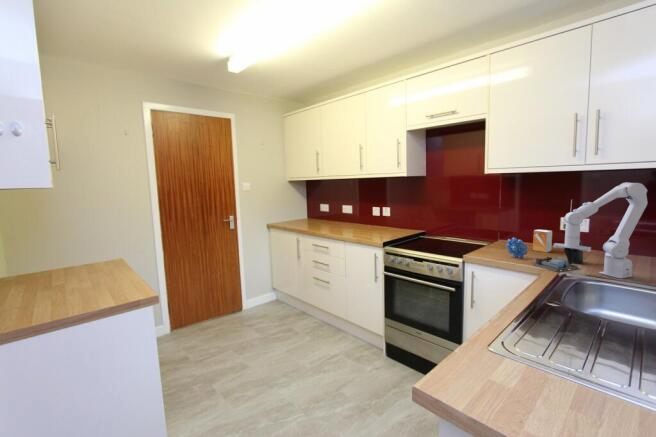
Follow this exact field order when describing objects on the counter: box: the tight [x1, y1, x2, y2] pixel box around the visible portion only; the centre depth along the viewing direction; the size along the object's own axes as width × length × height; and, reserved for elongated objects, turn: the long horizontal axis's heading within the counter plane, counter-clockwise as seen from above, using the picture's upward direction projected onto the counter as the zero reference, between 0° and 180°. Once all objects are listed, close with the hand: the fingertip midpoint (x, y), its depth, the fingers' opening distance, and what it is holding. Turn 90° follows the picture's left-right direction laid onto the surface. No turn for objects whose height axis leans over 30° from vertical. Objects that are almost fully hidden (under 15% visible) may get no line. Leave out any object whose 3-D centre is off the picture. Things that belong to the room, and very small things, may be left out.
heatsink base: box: [532, 256, 579, 272], centre depth 167 cm, size 14×14×4 cm
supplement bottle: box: [573, 240, 585, 265], centre depth 173 cm, size 7×7×12 cm
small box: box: [532, 229, 553, 253], centre depth 201 cm, size 8×6×13 cm
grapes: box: [505, 237, 528, 259], centre depth 187 cm, size 12×7×12 cm, turn 42°
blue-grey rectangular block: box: [546, 258, 565, 267], centre depth 165 cm, size 7×5×3 cm, turn 15°
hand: (570, 263), depth 157 cm, fingers closed
